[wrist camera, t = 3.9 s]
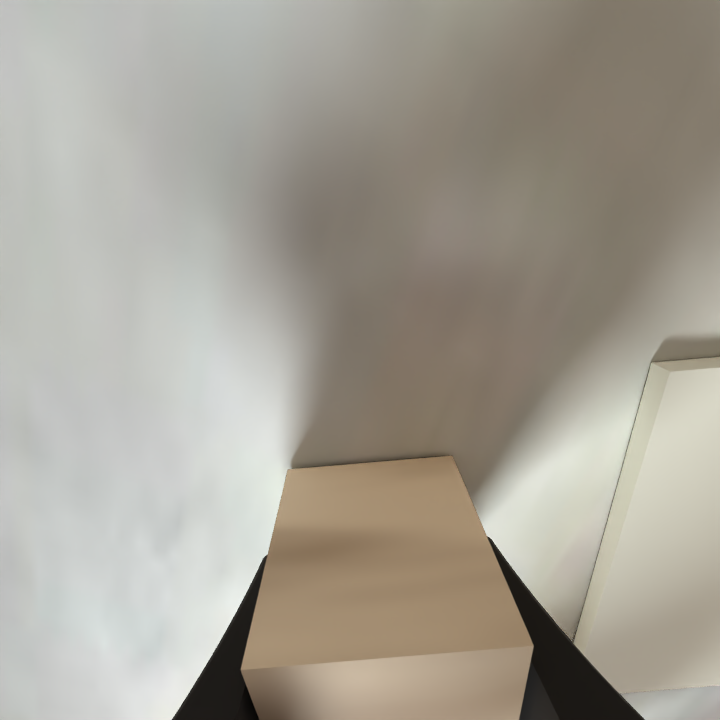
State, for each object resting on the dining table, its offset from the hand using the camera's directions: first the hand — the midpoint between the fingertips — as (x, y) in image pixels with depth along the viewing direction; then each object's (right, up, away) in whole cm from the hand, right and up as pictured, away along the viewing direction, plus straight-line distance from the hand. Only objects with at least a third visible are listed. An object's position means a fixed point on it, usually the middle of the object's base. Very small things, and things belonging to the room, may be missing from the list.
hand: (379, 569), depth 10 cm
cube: (0, +1, +2) cm, 2 cm away
